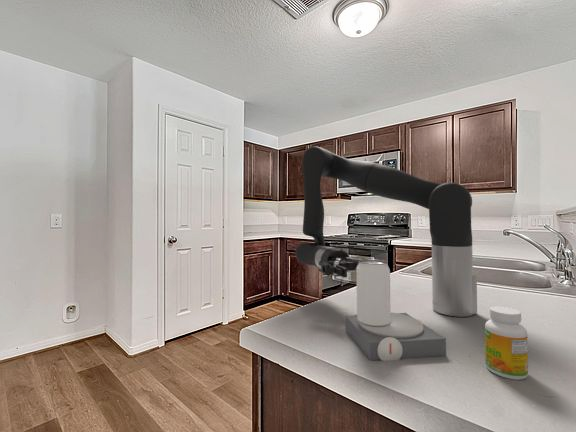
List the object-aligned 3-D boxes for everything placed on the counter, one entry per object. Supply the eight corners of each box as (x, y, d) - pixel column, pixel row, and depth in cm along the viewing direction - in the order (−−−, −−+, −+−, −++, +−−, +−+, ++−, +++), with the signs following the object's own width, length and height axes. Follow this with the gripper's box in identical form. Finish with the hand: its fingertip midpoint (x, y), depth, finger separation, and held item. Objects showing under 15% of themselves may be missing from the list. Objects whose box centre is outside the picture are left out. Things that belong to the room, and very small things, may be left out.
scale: (405, 328, 65) (405, 309, 65) (448, 360, 50) (447, 335, 50) (345, 332, 63) (345, 312, 64) (371, 365, 49) (371, 339, 49)
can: (383, 330, 53) (382, 265, 53) (351, 322, 57) (350, 262, 57) (395, 320, 58) (394, 261, 58) (365, 313, 62) (364, 258, 62)
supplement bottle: (477, 363, 48) (476, 305, 48) (507, 361, 49) (506, 304, 49) (504, 381, 43) (503, 316, 43) (537, 379, 43) (536, 314, 43)
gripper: (308, 249, 81) (334, 257, 66) (353, 246, 86) (387, 253, 70) (309, 275, 82) (335, 290, 66) (353, 271, 86) (387, 284, 70)
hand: (361, 271), depth 68 cm, fingers open, 8 cm apart
